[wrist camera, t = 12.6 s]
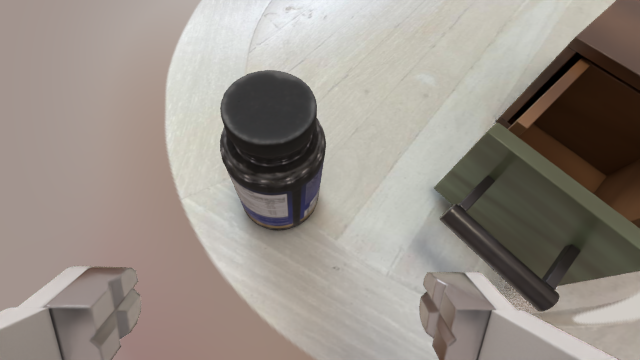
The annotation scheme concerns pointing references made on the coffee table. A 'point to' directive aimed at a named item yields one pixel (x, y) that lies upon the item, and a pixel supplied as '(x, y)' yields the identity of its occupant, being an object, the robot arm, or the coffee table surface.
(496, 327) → the robot arm
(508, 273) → the drawer
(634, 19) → the cabinet
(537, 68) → the coffee table surface
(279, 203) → the pill bottle
